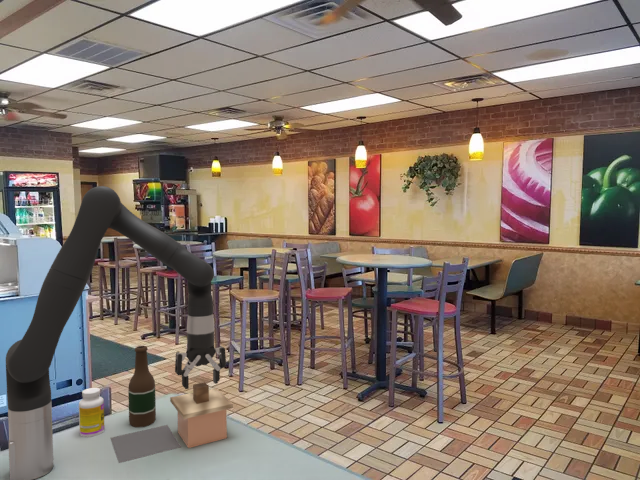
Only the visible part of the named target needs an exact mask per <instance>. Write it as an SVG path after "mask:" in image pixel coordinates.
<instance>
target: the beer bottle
mask: <svg viewBox="0 0 640 480" xmlns="http://www.w3.org/2000/svg"><path fill="white" fill-rule="evenodd" d="M148 350H149V349H148V347H147V346H146V345H138V346H135V348H134V352H135V359H134V363H135V364H134V373H133V375H132V376H131V378H130V380H129V384H128V390H127V392H128V395H127V396H128V423H129V424H128V425H129V426H131V427H133V428H145V427H148V426H151V425H153V424H154V422H155V421H156V419H157V417H156V416H157V411H156V410H157V408H156V407H157V406H156V405H157V404H156V402H157V401H156V381H155V379H154V376H153V374H152V373H151V372H150V369H149V362H148V361H149V360H148Z"/></svg>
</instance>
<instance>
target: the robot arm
mask: <svg viewBox="0 0 640 480" xmlns="http://www.w3.org/2000/svg"><path fill="white" fill-rule="evenodd" d="M109 228H110V229H111V230H114V231H115V232H117V233H120V234H121V235H122V236H125V238H127V239H129V240H130V241H132V242H133V243H134V244H136V245H137V246H138V247H140V248H141V249H143V250H144V251H145V252H146V253H148V254H150V255H151V256H152V257H153V258H155V259H156V260H158V261H159V262H161V263H162V264H163V265H166V266H167V267H168V268H171V269H172V270H174V271H175V272H176V273H177V274H179V275H180V276H181V277H182V278H183V279H185V280H186V282H187V292H188V293H187V294H188V296H187V297H188V299H187V321H186V332H187V333H186V335H187V336H186V344H187V345H186V352H179V351H177V352H176V353H175V359H174V360H175V361H174V363H175V364H174V366H175V367H174V372H175V374H176V375H177V376H181V385H182V387H183V388H184V389H185V390H189V386H190V385H189V383H190V382H189V374H190V373H191V371H192V370H193V369H194V368H195V367H200V366H207V365H208V364H210V366H211V367H213V369H212V381H213V383H214V384H216V385H217V384H218V383H219V382H220V378H221V376H220V371H221V370H222V369H225V368H226V367H227V360H226V348H225V347H224V346H222V345H219V346H218V347H215V319H214V299H213V295H212V282H213V279H214V275H215V274H214V269H213V267H212V266H211V265H210V263H209V262H207V261H206V260H202V259H201V258H200V257H198V256H197V255H195V254H193V253H192V252H190V251H189V250H188V249H187V248H186V247H185V246H184V245H182V244H181V243H180V242H178V241H177V240H175V239H174V238H172V237H171V236H170V235H169V234H166V233H165V232H163V231H162V230H160V229H158V228H156V227H155V226H153V225H150V224H149V223H148V222H146V221H144V220H142V219H141V218H140V217H138V216H137V215H135V214H134V213H133V212H132V211H130V209H128V208H127V207H126V206H125V205H124V204H123V203H122V201H121V198H120V197H119V194H118V193H117V192H116V191H115V190H114V189H113V188H110V187H108V186H105V185H100V186H94V187H93V188H90V189H88V191H86V193H85V194H84V195H83V197H82V200H81V203H80V207H79V209H78V213H77V216H76V218H75V220H74V223H73V226H72V228H71V231H70V233H69V234H68V236H67V239H66V240H65V241H64V243H63V244H62V246H61V248H60V249H59V251H58V253H57V254H56V257H55V258H54V260H53V262H52V264H51V266H50V267H49V269H48V271H47V274H46V276H45V278H44V280H43V282H42V285H41V287H40V290H39V294H38V297H37V300H36V304H35V308H34V312H33V316H32V319H31V322H30V323H29V326H28V327H27V329H26V331H25V332H24V335H23V337H22V338H21V339H20V340H17V341H16V342H14V343H13V344H12V345H11V346H10V347H9V348H8V350H7V352H6V354H5V375H6V380H5V381H6V397H7V417H8V418H7V419H8V460H9V461H8V462H9V465H8V466H9V480H35V479H38V478H41V477H43V476H45V475H47V474H49V473H50V472H51V471H52V470H53V468H54V459H55V458H54V444H53V443H54V440H53V439H54V438H53V416H52V415H53V413H52V411H53V409H52V406H53V405H52V388H51V379H50V367H51V365H52V362H53V360H54V359H53V358H54V355H55V353H56V349H57V346H58V345H59V344H58V343H59V341H60V338H61V335H62V334H63V331H64V330H65V329H64V328H65V326H66V325H67V323H68V321H69V319H70V317H71V315H72V313H73V311H74V310H75V308H76V306H77V304H78V302H79V300H80V298H81V296H82V295H83V292H84V291H85V288H86V285H87V284H88V281H89V279H90V276H91V274H92V272H93V268H94V265H95V263H96V259H97V255H98V252H99V248H100V244H101V243H102V240H103V238H104V236H105V234H106V233H107V231H108V229H109ZM215 354H217V355H218V362H219V363H217V362H216V361H215V360H214V359H213V358H214V357H215ZM185 358H187V359H188V360H187V362H186V363H185V366H184V367H183V361H184V360H185ZM182 367H183V369H182Z"/></svg>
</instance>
